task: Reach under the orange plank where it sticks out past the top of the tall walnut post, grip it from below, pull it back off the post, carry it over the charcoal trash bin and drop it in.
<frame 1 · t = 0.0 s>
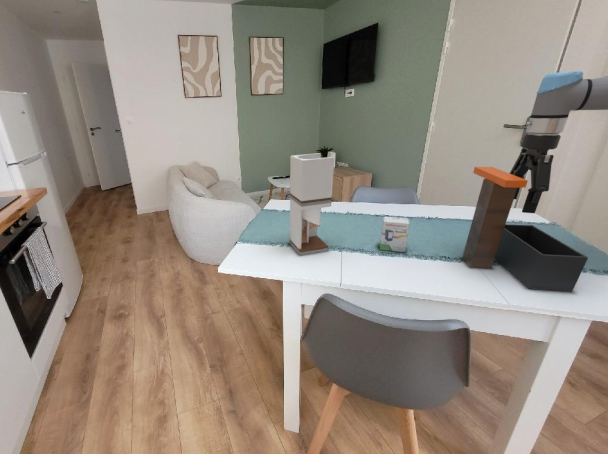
hand: (518, 205, 90), 20 cm above the table, tool pointing down, fingers open, 13 cm apart
orange plank: (496, 179, 88), point 28 cm above the table, touching post
trash bin: (525, 270, 92), on the table
ink box: (391, 249, 109), on the table
white coffee grinder: (308, 247, 114), on the table
post: (476, 263, 97), on the table
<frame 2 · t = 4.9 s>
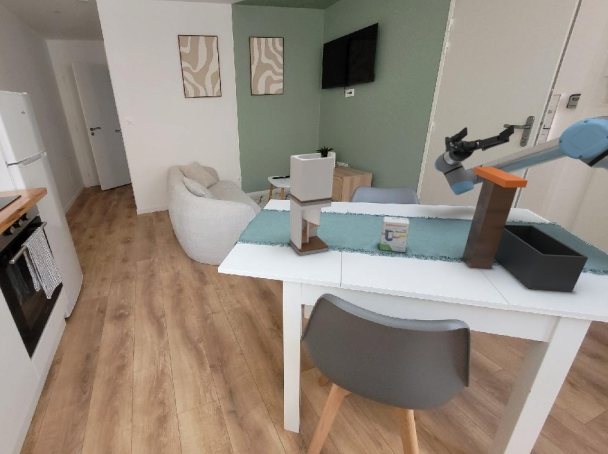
hand: (489, 130, 98), 41 cm above the table, tool pointing upward, fingers open, 13 cm apart
nothing on the table moved.
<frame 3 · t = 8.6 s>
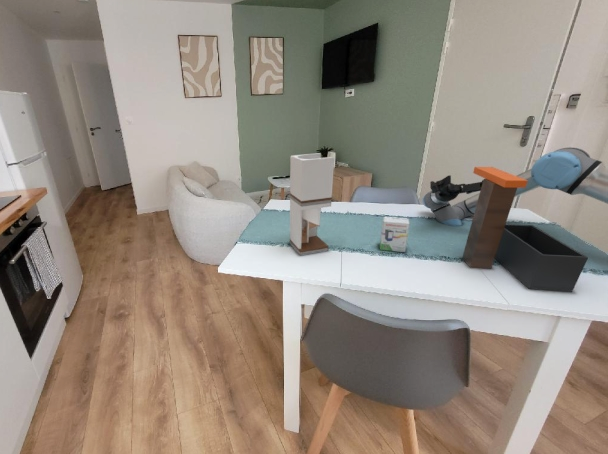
hand: (471, 179, 102), 25 cm above the table, tool pointing upward, fingers open, 13 cm apart
nothing on the table moved.
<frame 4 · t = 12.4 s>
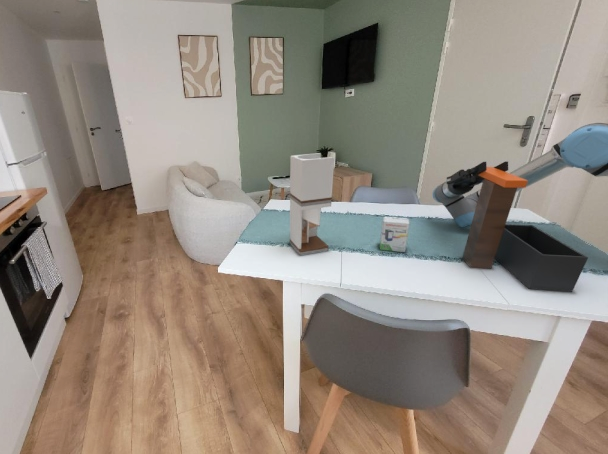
hand: (495, 165, 88), 32 cm above the table, tool pointing upward, fingers closed on orange plank, 5 cm apart
orange plank: (496, 179, 88), point 28 cm above the table, touching gripper, post
everything else where it was.
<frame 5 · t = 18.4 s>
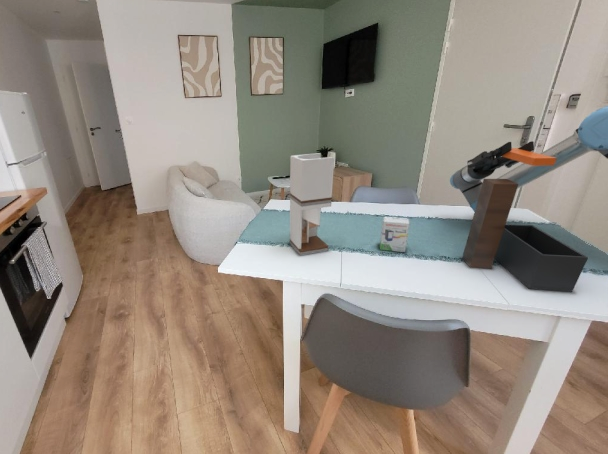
hand: (520, 145, 88), 37 cm above the table, tool pointing upward, fingers closed on orange plank, 5 cm apart
orange plank: (522, 159, 87), point 33 cm above the table, touching gripper
everything else where it was.
when the fingers open (23 cm above the table, at t = 24.3 s): orange plank drops 18 cm, resting on trash bin.
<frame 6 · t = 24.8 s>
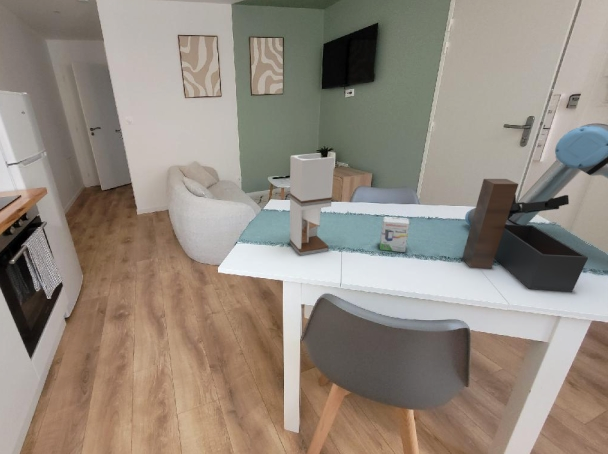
hand: (540, 199, 87), 22 cm above the table, tool pointing upward, fingers open, 12 cm apart
orange plank: (525, 266, 92), point 1 cm above the table, touching trash bin
everything else where it was.
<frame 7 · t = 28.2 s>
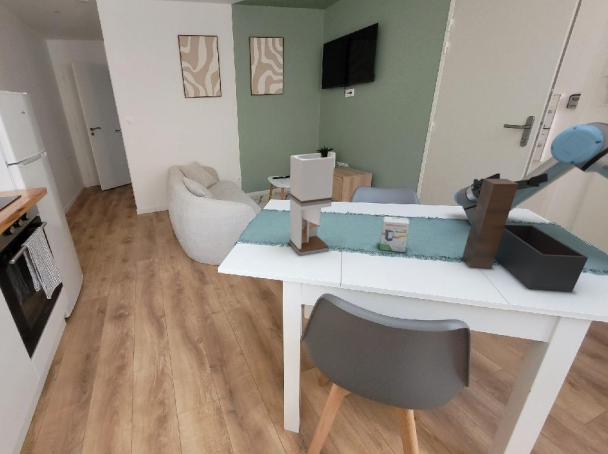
hand: (522, 177, 96), 26 cm above the table, tool pointing upward, fingers open, 13 cm apart
nothing on the table moved.
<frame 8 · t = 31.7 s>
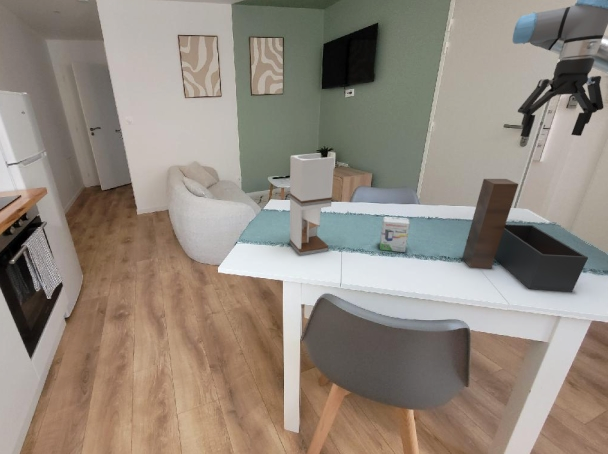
hand: (549, 136, 92), 39 cm above the table, tool pointing down, fingers open, 13 cm apart
nothing on the table moved.
at the end: orange plank 0.3 cm from the trash bin (horizontally); orange plank point 1.0 cm above the table; the gripper is holding nothing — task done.
